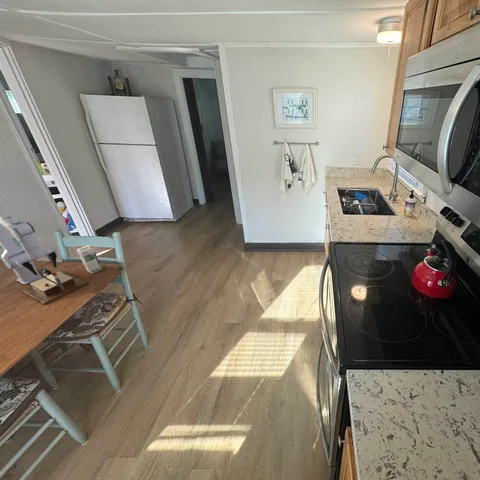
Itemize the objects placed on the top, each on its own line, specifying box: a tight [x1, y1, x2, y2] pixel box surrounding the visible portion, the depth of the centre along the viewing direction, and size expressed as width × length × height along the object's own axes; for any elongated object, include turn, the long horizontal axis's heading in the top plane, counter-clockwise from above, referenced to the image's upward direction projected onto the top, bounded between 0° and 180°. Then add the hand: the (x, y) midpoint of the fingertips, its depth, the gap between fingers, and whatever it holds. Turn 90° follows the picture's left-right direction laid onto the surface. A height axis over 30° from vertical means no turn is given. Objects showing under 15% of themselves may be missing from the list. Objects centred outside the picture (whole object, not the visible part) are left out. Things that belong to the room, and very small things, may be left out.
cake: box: [29, 271, 75, 296], centre depth 136 cm, size 14×12×5 cm
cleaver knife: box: [39, 267, 57, 283], centre depth 134 cm, size 15×2×6 cm, turn 64°
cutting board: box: [20, 268, 89, 305], centre depth 136 cm, size 24×18×8 cm
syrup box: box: [76, 244, 103, 275], centre depth 148 cm, size 6×6×14 cm
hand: (45, 270), depth 133 cm, fingers open, 7 cm apart
